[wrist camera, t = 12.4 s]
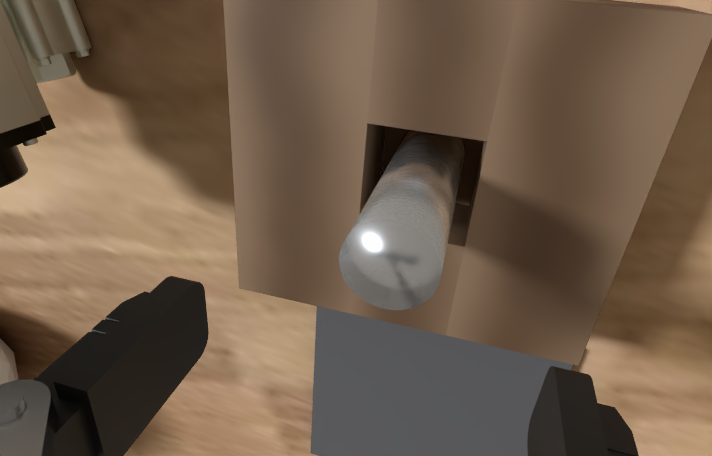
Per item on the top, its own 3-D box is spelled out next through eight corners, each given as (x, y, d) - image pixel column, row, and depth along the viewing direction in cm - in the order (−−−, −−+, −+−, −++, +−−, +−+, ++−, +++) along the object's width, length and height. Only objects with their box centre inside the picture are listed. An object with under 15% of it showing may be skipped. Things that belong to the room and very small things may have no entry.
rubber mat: (576, 344, 25) (578, 352, 25) (514, 503, 32) (514, 512, 32) (320, 287, 28) (317, 293, 27) (313, 445, 35) (310, 453, 34)
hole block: (678, 6, 18) (720, 16, 14) (567, 309, 24) (578, 365, 21) (267, -32, 21) (221, -32, 17) (271, 248, 27) (239, 288, 24)
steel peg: (470, 127, 22) (449, 232, 13) (458, 189, 23) (432, 319, 14) (403, 117, 22) (342, 212, 14) (396, 178, 24) (336, 298, 15)
